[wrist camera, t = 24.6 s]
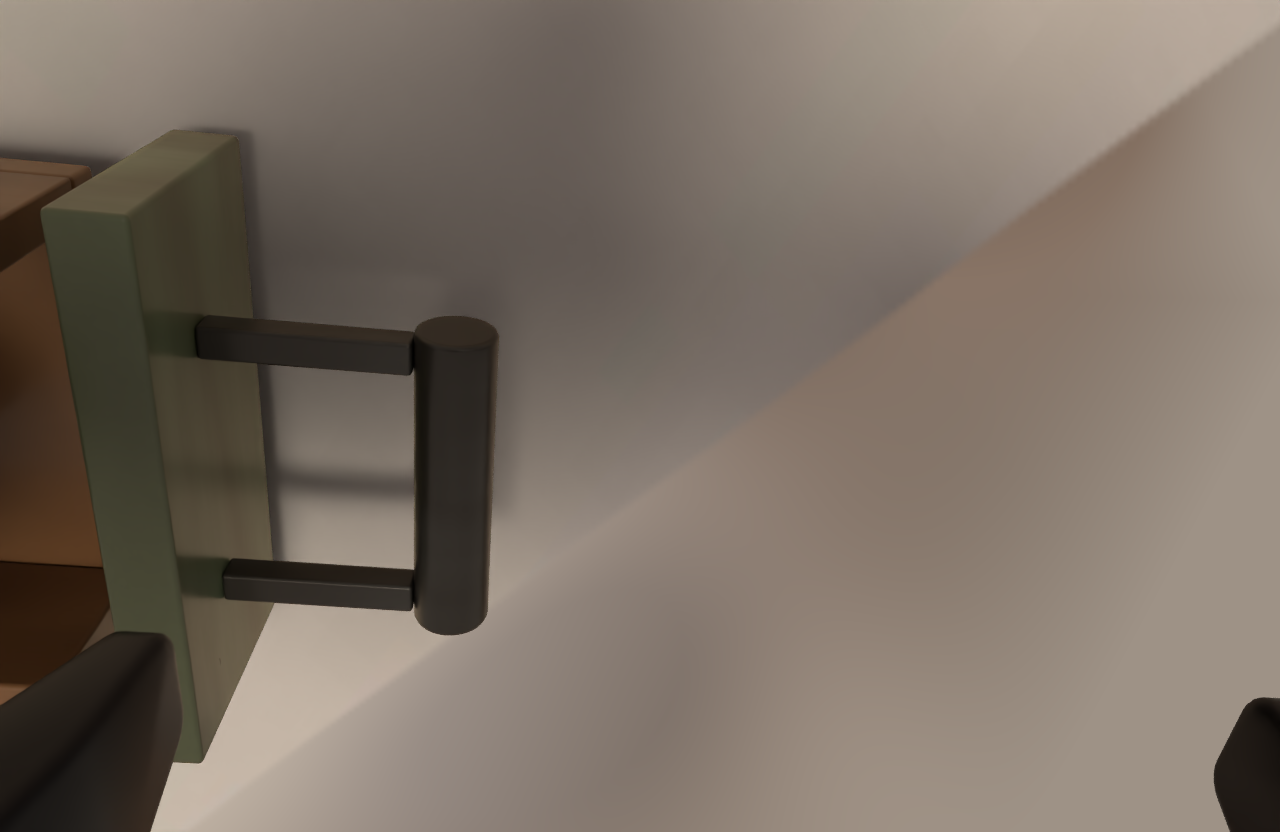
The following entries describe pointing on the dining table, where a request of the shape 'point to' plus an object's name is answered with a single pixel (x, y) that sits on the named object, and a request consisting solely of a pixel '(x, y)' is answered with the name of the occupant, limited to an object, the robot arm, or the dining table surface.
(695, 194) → the dining table surface
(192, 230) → the drawer
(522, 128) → the dining table surface
